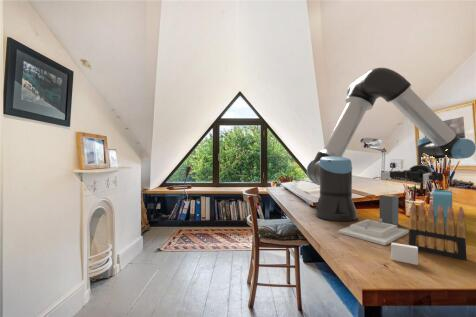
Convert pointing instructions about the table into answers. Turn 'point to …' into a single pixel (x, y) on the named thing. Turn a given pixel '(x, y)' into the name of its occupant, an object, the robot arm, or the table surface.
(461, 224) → the ammunition clip
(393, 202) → the grey upright block
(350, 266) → the table surface
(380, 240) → the dock tray
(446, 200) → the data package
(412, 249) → the eraser
